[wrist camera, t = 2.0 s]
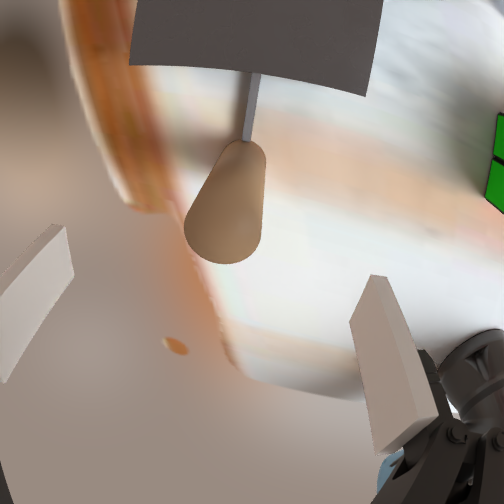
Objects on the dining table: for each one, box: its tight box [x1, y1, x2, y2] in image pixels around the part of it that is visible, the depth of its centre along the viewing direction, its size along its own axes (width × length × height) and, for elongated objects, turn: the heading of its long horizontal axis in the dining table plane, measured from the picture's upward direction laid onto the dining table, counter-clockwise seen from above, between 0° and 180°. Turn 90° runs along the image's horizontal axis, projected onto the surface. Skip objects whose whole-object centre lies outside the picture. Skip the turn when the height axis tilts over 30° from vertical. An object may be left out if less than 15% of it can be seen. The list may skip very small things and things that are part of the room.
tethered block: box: [184, 73, 266, 264], centre depth 17 cm, size 23×6×13 cm, turn 171°
